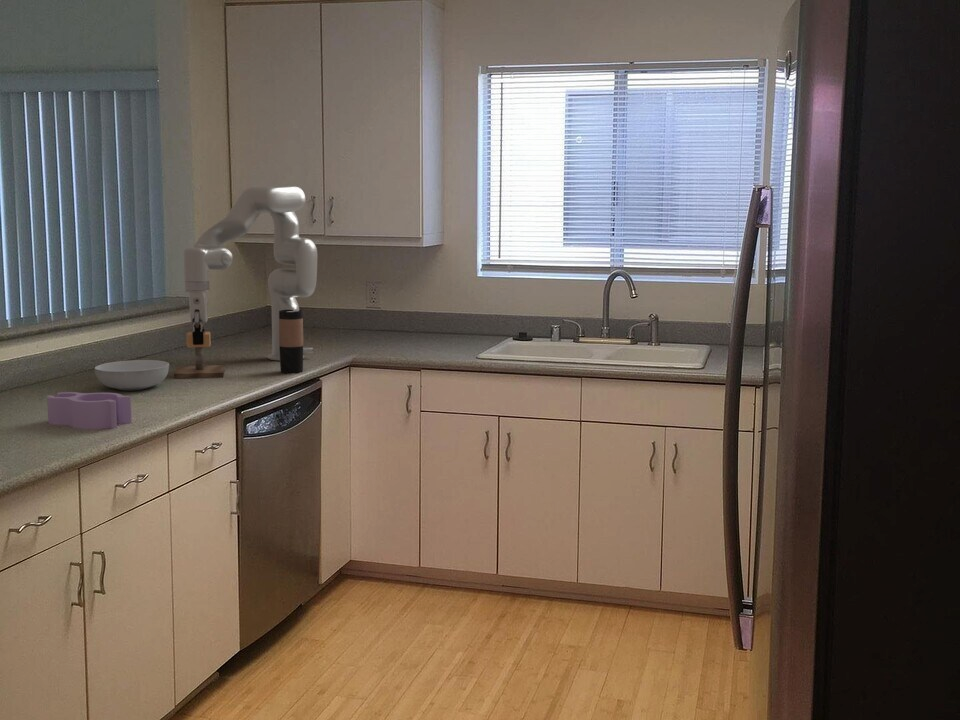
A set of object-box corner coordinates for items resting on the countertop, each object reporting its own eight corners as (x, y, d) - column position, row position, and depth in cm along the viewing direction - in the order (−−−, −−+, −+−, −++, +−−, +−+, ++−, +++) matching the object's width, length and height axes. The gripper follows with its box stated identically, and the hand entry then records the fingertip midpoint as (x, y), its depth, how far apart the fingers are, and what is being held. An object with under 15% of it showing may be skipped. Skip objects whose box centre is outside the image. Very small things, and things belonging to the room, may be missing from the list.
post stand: (224, 369, 345) (223, 334, 343) (223, 377, 330) (222, 341, 329) (177, 370, 342) (175, 335, 340) (173, 378, 327) (172, 341, 326)
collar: (210, 343, 339) (210, 331, 338) (209, 346, 332) (209, 334, 332) (188, 344, 337) (187, 332, 337) (186, 347, 331) (186, 334, 330)
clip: (37, 426, 259) (36, 398, 258) (69, 416, 271) (67, 390, 270) (109, 431, 254) (108, 403, 253) (138, 421, 266) (137, 394, 265)
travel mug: (283, 374, 337) (282, 312, 334) (276, 370, 344) (275, 310, 341) (306, 372, 340) (305, 311, 337) (299, 369, 347) (298, 309, 344)
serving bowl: (111, 381, 322) (110, 359, 321) (179, 382, 321) (178, 360, 320) (83, 393, 301) (82, 370, 300) (156, 394, 301) (155, 371, 300)
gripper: (208, 289, 324) (209, 346, 327) (210, 284, 341) (212, 339, 344) (182, 289, 323) (184, 347, 326) (186, 284, 340) (188, 339, 342)
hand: (198, 342), depth 335 cm, fingers closed on collar, 6 cm apart
